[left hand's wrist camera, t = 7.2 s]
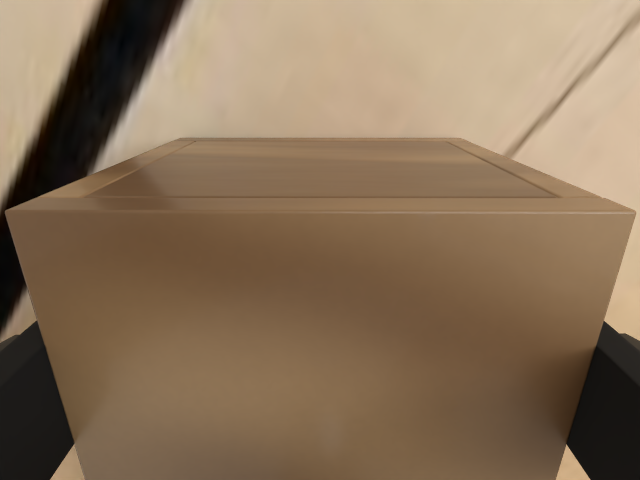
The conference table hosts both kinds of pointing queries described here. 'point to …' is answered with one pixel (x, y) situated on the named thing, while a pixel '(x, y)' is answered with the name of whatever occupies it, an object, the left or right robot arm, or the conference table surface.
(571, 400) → the cabinet
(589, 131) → the conference table surface
